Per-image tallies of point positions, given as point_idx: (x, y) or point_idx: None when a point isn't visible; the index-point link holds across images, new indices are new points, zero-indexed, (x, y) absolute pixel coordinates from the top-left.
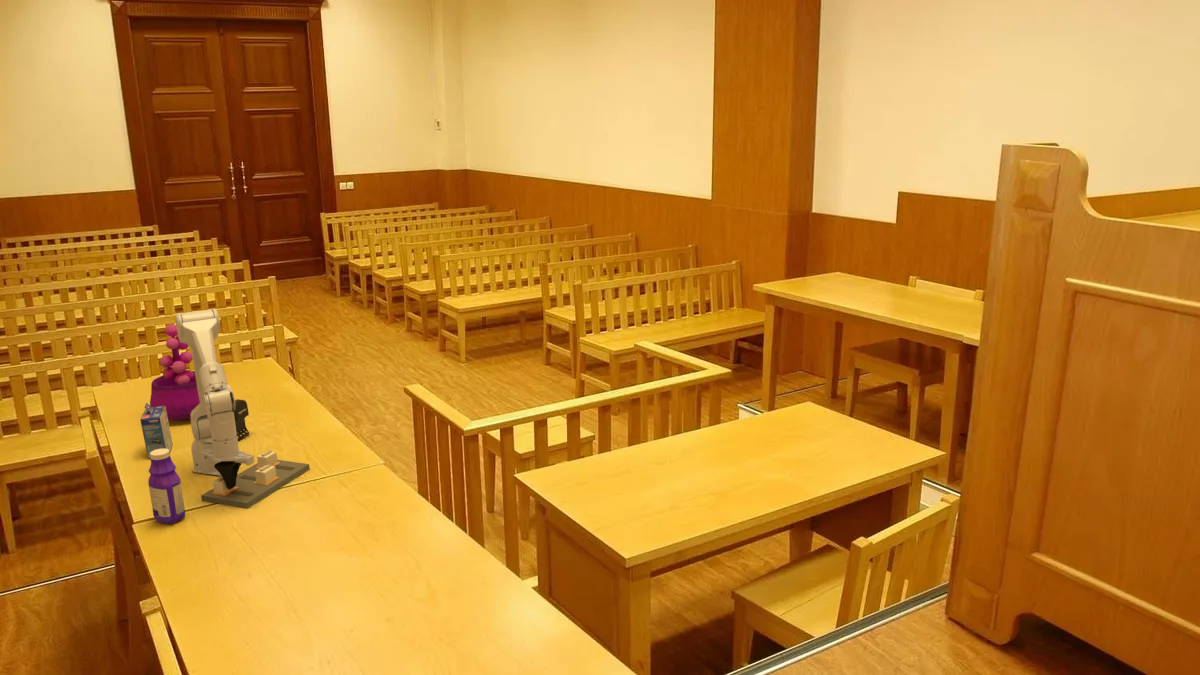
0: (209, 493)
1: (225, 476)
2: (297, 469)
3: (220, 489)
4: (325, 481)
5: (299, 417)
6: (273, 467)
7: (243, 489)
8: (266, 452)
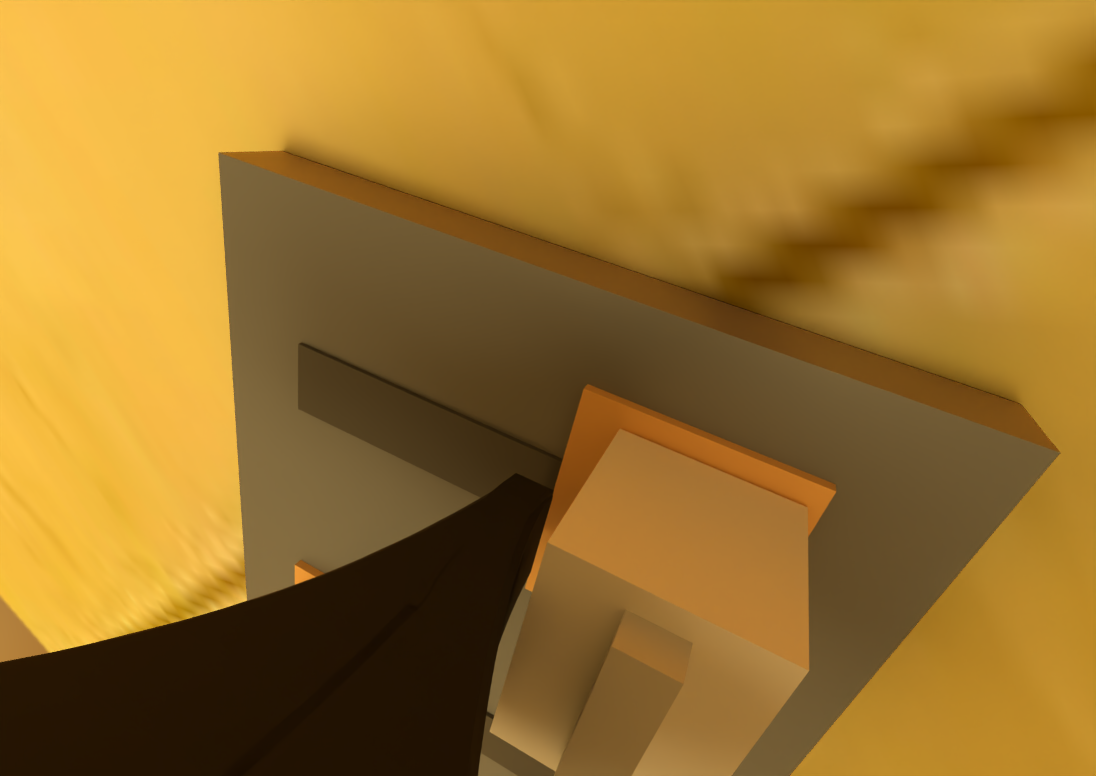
0: (889, 500)
1: (373, 619)
2: None
3: (649, 482)
4: (123, 574)
5: None
6: None
7: None
8: None
